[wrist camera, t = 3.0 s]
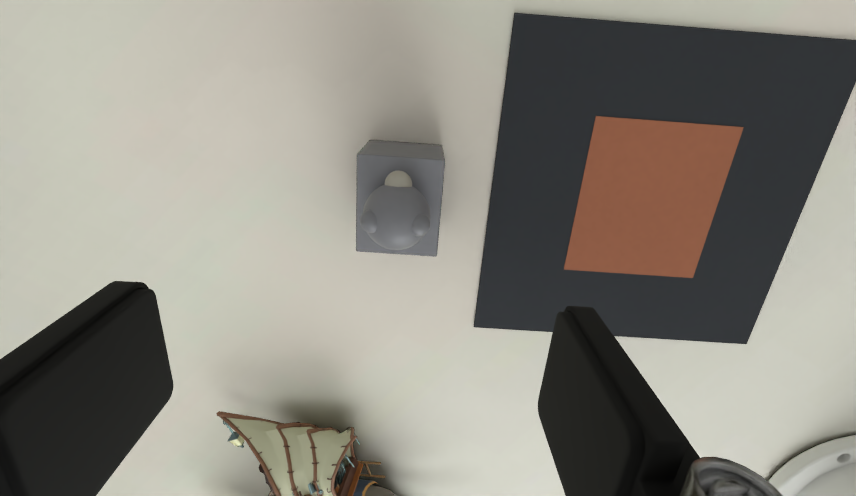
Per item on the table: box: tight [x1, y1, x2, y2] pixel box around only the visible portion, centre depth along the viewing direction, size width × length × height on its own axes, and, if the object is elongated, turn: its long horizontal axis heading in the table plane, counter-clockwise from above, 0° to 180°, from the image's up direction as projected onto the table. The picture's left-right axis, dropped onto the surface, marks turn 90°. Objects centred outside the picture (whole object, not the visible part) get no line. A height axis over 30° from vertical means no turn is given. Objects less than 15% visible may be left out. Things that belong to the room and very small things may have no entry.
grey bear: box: [356, 140, 445, 257], centre depth 21 cm, size 4×5×7 cm
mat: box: [474, 13, 856, 344], centre depth 25 cm, size 18×18×1 cm
